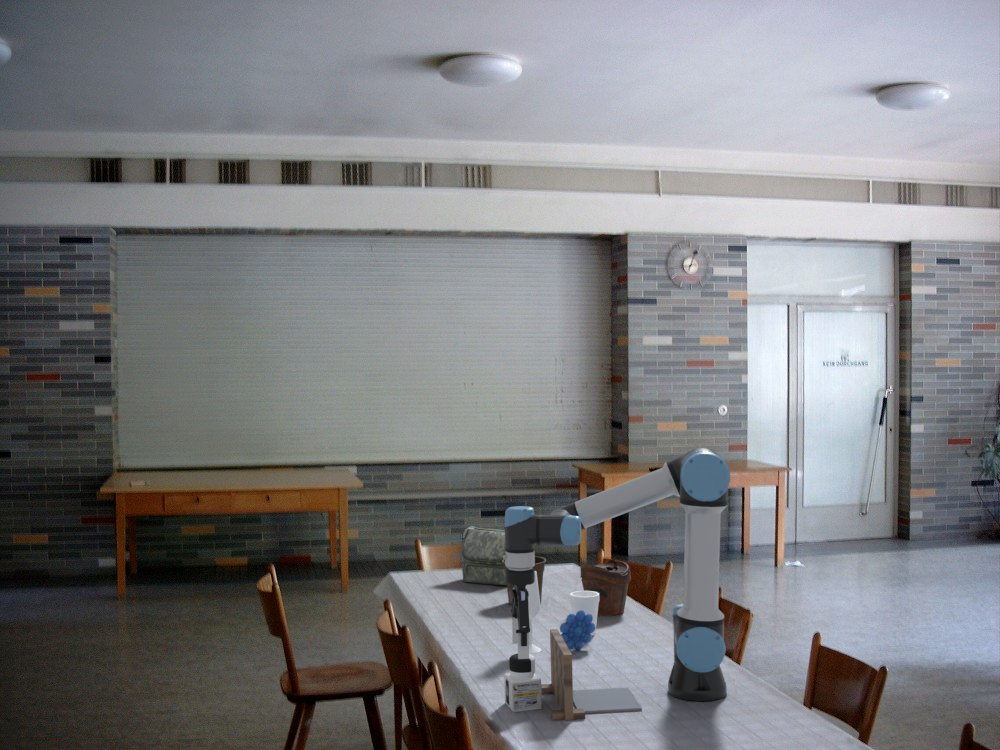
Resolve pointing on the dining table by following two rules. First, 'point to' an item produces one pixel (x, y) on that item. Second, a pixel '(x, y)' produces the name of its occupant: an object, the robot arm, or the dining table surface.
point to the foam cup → (585, 604)
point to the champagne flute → (533, 610)
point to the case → (607, 585)
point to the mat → (605, 700)
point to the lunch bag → (483, 555)
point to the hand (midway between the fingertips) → (520, 650)
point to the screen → (561, 679)
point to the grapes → (577, 630)
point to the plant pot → (539, 569)
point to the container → (522, 685)
